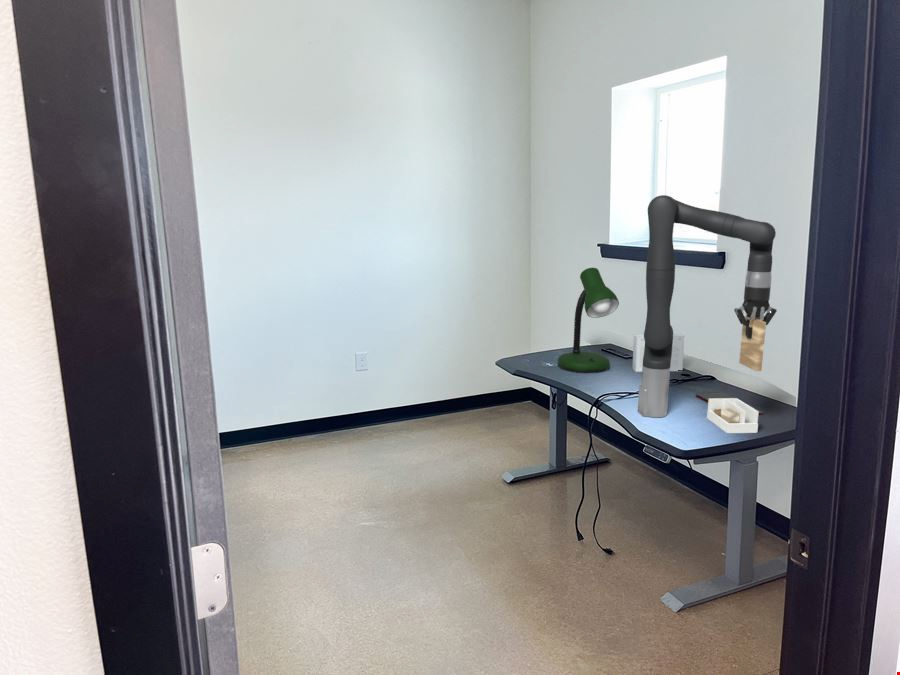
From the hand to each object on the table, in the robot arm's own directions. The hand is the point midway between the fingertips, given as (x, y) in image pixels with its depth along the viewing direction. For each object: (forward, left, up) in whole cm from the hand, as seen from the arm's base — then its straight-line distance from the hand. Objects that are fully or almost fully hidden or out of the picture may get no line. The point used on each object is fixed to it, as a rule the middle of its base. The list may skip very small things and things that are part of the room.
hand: (752, 337), depth 213 cm
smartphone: (+5, +21, -31) cm, 37 cm away
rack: (-5, 0, -30) cm, 30 cm away
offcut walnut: (-7, +3, -30) cm, 31 cm away
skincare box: (-4, +71, -30) cm, 77 cm away
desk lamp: (-34, +75, -30) cm, 87 cm away
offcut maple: (-7, -3, -27) cm, 28 cm away
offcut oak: (-7, -3, -30) cm, 31 cm away
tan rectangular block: (0, 0, -10) cm, 10 cm away
